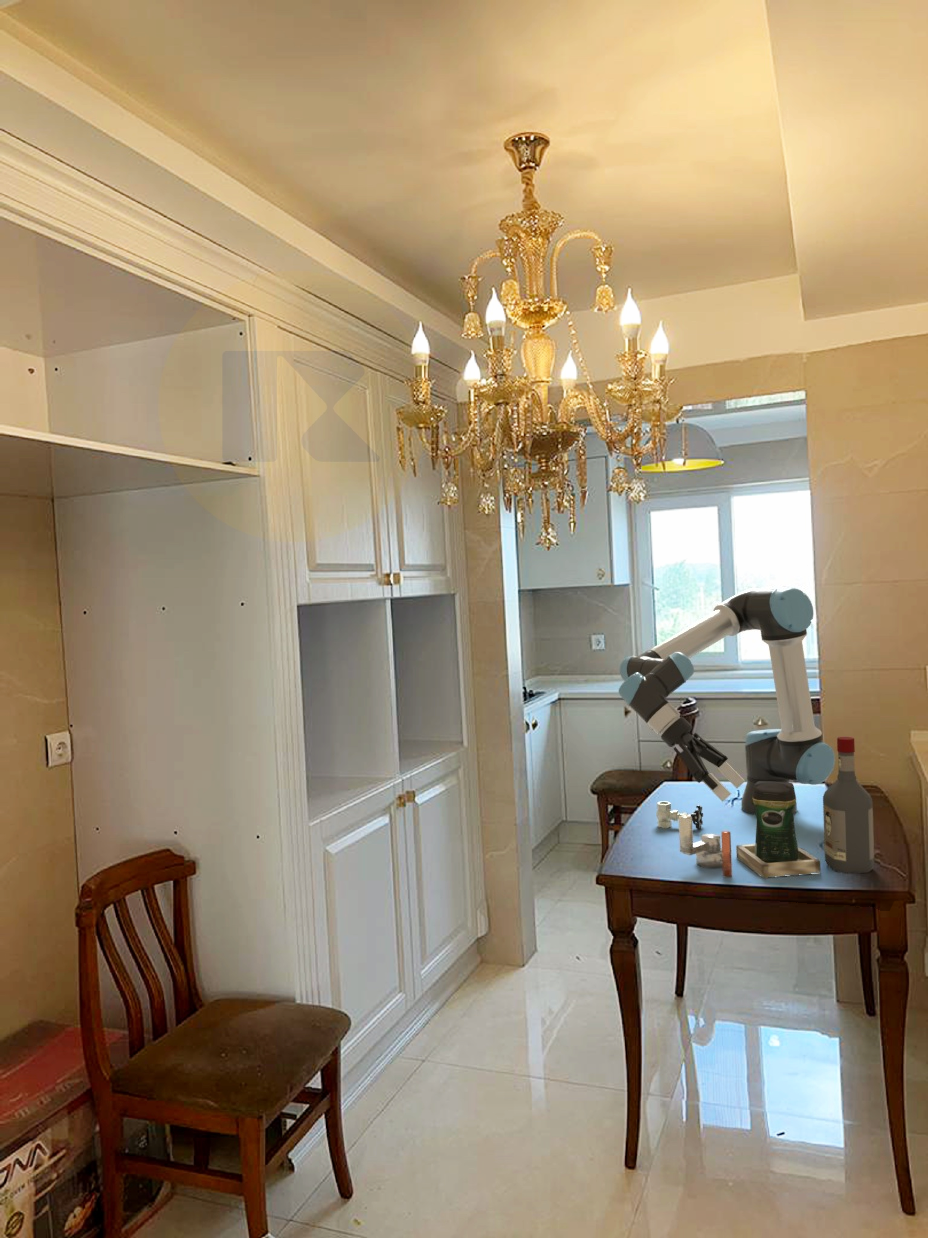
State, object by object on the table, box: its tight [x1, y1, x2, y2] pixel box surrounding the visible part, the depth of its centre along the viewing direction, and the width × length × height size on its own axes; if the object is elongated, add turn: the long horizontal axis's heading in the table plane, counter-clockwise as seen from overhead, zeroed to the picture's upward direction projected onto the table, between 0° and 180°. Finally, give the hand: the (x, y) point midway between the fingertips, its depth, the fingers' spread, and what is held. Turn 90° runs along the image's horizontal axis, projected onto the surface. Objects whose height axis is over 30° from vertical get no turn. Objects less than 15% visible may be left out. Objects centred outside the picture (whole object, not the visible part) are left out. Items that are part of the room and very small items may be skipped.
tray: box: [735, 843, 822, 879], centre depth 212 cm, size 13×15×3 cm
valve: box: [656, 801, 704, 830], centre depth 247 cm, size 7×7×12 cm
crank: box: [678, 815, 722, 856], centre depth 212 cm, size 13×4×10 cm, turn 127°
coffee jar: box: [753, 781, 799, 863], centre depth 211 cm, size 10×8×19 cm
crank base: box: [695, 830, 733, 878], centre depth 212 cm, size 7×14×10 cm, turn 5°
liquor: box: [822, 736, 875, 875], centre depth 207 cm, size 9×9×30 cm
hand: (734, 791), depth 215 cm, fingers open, 13 cm apart
